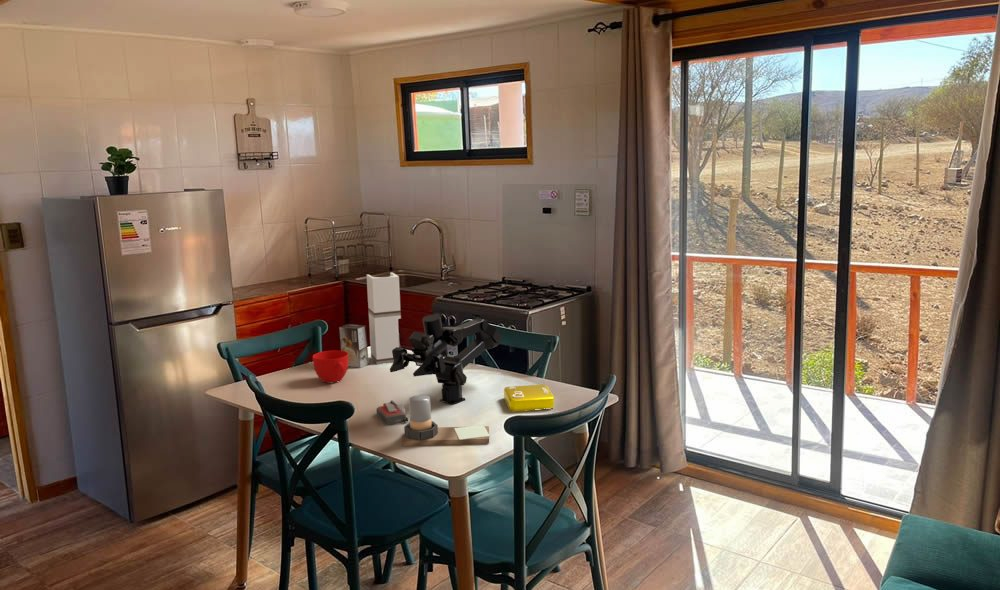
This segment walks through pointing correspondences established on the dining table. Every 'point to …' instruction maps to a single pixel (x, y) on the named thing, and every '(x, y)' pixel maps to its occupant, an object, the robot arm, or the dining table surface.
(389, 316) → the tall white stacked column
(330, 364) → the ceramic cup
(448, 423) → the dining table surface
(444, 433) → the walnut board
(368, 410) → the dining table surface
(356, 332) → the coffee box
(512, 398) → the element tile
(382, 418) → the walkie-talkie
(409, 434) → the grey octagonal ring
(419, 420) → the two-tone cylinder
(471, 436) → the sage pad
